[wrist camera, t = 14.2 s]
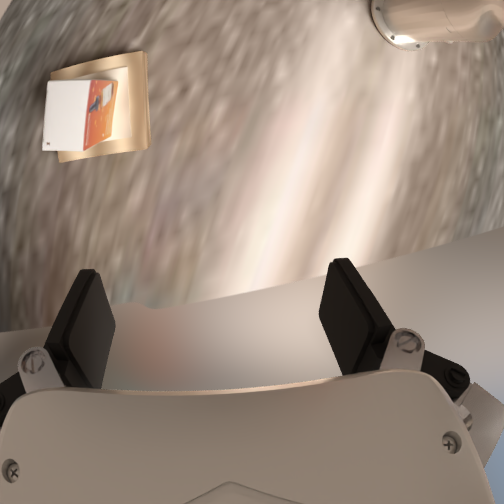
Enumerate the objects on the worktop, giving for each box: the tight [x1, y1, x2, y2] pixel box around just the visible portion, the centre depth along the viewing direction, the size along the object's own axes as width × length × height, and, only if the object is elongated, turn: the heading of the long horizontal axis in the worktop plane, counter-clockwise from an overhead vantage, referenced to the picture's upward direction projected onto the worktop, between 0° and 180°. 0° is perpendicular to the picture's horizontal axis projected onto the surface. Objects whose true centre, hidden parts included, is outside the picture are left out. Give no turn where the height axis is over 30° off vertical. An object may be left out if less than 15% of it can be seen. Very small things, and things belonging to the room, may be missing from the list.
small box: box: [42, 79, 119, 152], centre depth 28 cm, size 8×6×10 cm
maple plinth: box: [51, 51, 151, 163], centre depth 34 cm, size 14×14×4 cm
